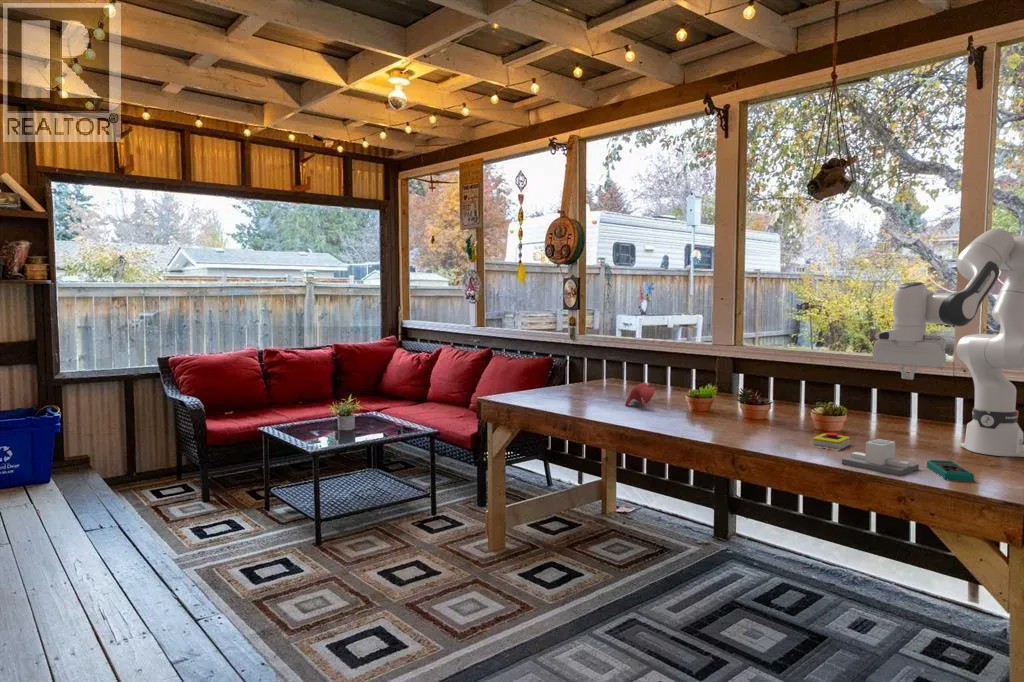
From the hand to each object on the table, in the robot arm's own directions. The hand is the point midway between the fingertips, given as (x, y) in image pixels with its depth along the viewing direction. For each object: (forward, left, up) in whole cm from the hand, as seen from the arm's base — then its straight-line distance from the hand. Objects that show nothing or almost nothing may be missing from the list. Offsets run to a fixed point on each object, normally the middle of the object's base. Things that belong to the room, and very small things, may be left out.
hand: (907, 379), depth 207 cm
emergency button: (-3, -25, -27) cm, 37 cm away
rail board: (+13, -2, -26) cm, 29 cm away
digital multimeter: (+5, +15, -27) cm, 31 cm away
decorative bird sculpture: (-9, -121, -26) cm, 124 cm away
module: (+13, -2, -25) cm, 28 cm away
